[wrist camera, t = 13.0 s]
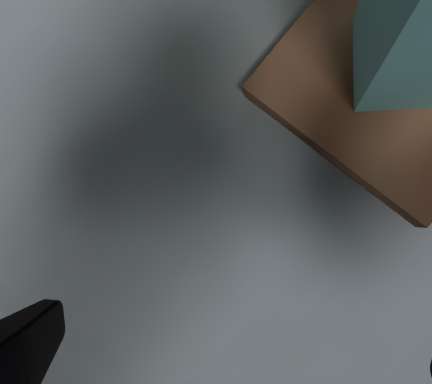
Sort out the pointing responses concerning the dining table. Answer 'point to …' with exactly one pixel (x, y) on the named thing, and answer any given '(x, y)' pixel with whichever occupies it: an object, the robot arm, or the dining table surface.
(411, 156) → the walnut board
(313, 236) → the dining table surface
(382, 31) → the teal block
